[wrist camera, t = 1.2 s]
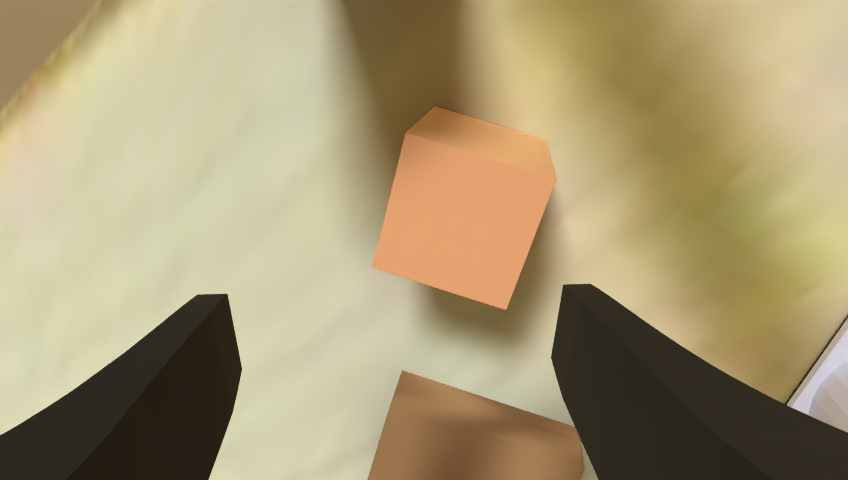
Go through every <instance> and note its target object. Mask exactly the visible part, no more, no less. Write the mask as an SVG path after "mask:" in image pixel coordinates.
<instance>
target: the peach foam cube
mask: <svg viewBox="0 0 848 480" xmlns="http://www.w3.org/2000/svg"><path fill="white" fill-rule="evenodd" d="M556 179H557V178H556V174H555V171H554V167H553V163H552V159H551V155H550V152H549V148H548V144H547V140H546V139H543V138H540V137H536V136H533V135H530V134H526V133H523V132H520V131H516V130H513V129H510V128H506V127H503V126H499V125H496V124H493V123H489V122H486V121H483V120H479V119H476V118H473V117H469V116H466V115H463V114H459V113H456V112H453V111H449V110H446V109H443V108H439V107H436V106H435V107H434V108H433V109H431V110H430V111H429V112H428V113H427V114H426V115H425V116H424V117H423V118H422V119H420V120H419V121H418V122H417V123H416V124H415V125H414V126H413V127H412V128H410V129H409V130H408V131H407V132H406V133H405V137H404V141H403V145H402V149H401V153H400V157H399V161H398V165H397V169H396V173H395V177H394V181H393V185H392V189H391V193H390V197H389V201H388V205H387V209H386V213H385V217H384V221H383V225H382V229H381V233H380V237H379V241H378V245H377V249H376V254H375V258H374V262H373V266H372V268H375V269H379V270H382V271H385V272H388V273H391V274H394V275H397V276H401V277H404V278H407V279H410V280H413V281H416V282H419V283H423V284H426V285H429V286H432V287H435V288H438V289H441V290H445V291H448V292H451V293H454V294H457V295H460V296H463V297H467V298H470V299H473V300H476V301H479V302H482V303H486V304H489V305H492V306H495V307H498V308H501V309H504V310H506V309H507V307H508V304H509V302H510V299H511V296H512V294H513V291H514V289H515V286H516V283H517V281H518V278H519V275H520V273H521V270H522V268H523V265H524V262H525V260H526V257H527V255H528V252H529V249H530V247H531V244H532V242H533V239H534V236H535V234H536V231H537V229H538V226H539V223H540V221H541V218H542V216H543V213H544V210H545V208H546V205H547V202H548V200H549V197H550V195H551V192H552V189H553V187H554V184H555V182H556Z"/></svg>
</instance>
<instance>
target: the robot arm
mask: <svg viewBox="0 0 848 480" xmlns="http://www.w3.org/2000/svg"><path fill="white" fill-rule="evenodd" d="M551 359H552V362H553V366H554V370H555V373H556V377H557V381H558V384H559V387H560V390H561V394H562V397H563V400H564V402H565V404H566V407H567V409H568V411H569V414H570V416H571V418H572V420H573V423H574V425H575V427H576V430H577V432H578V434H579V436H580V439H581V441H582V443H583V445H584V448H585V450H586V452H587V454H588V456H589V459H590V461H591V463H592V465H593V468H594V470H595V472H596V474H597V477H598V479H599V480H848V319H847V320H846V321H845V323H844V324H843V326H842V327H841V328H840V330H839V331H838V333H837V334H836V336H835V337H834V338H833V340H832V341H831V343H830V344H829V345H828V347H827V348H826V350H825V351H824V353H823V354H822V355H821V357H820V358H819V360H818V361H817V362H816V364H815V365H814V367H813V368H812V369H811V371H810V372H809V374H808V375H807V377H806V378H805V379H804V381H803V382H802V384H801V385H800V386H799V388H798V389H797V391H796V392H795V394H794V395H793V396H792V398H791V399H790V401H789V402H788V403H787V405H785V404H783V403H781V402H779V401H777V400H775V399H773V398H771V397H769V396H767V395H765V394H763V393H761V392H759V391H758V390H756V389H754V388H752V387H750V386H748V385H746V384H744V383H743V382H741V381H739V380H737V379H735V378H733V377H731V376H730V375H728V374H726V373H724V372H723V371H721V370H719V369H717V368H716V367H714V366H712V365H711V364H709V363H708V362H706V361H704V360H703V359H701V358H699V357H698V356H696V355H695V354H693V353H691V352H690V351H688V350H687V349H685V348H683V347H682V346H680V345H679V344H677V343H676V342H674V341H673V340H671V339H670V338H668V337H667V336H665V335H664V334H662V333H661V332H659V331H658V330H657V329H655V328H654V327H652V326H651V325H649V324H648V323H646V322H645V321H644V320H642V319H641V318H639V317H638V316H637V315H635V314H634V313H632V312H631V311H630V310H628V309H627V308H625V307H624V306H623V305H621V304H620V303H618V302H617V301H616V300H614V299H613V298H611V297H610V296H608V295H607V294H605V293H604V292H603V291H601V290H600V289H598V288H596V287H595V286H593V285H591V284H570V285H563V290H562V296H561V302H560V308H559V314H558V320H557V325H556V331H555V337H554V343H553V349H552V355H551ZM241 371H242V367H241V362H240V356H239V351H238V346H237V341H236V336H235V331H234V325H233V320H232V315H231V310H230V305H229V300H228V295H227V294H205V295H197V296H195V297H194V298H192V299H191V300H190V301H188V302H187V303H186V304H185V305H183V306H182V307H181V308H180V309H178V310H177V311H176V312H175V313H173V314H172V315H171V316H170V317H168V318H167V319H166V320H165V321H164V322H162V323H161V324H160V325H159V326H157V327H156V328H155V329H154V330H152V331H151V332H150V333H149V334H147V335H146V336H145V337H144V338H142V339H141V340H140V341H139V342H137V343H136V344H135V345H134V346H132V347H131V348H130V349H129V350H127V351H126V352H125V353H123V354H122V355H121V356H119V357H118V358H117V359H115V360H114V361H113V362H111V363H110V364H108V365H107V366H106V367H104V368H103V369H102V370H100V371H99V372H98V373H96V374H95V375H93V376H92V377H91V378H89V379H88V380H87V381H85V382H84V383H82V384H81V385H80V386H78V387H77V388H75V389H74V390H73V391H71V392H70V393H68V394H67V395H65V396H64V397H62V398H61V399H59V400H58V401H56V402H55V403H53V404H51V405H50V406H48V407H47V408H45V409H44V410H42V411H40V412H39V413H37V414H35V415H34V416H32V417H31V418H29V419H27V420H26V421H24V422H23V423H21V424H19V425H18V426H16V427H14V428H13V429H11V430H9V431H7V432H6V433H4V434H2V435H0V480H208V479H209V477H210V474H211V471H212V468H213V466H214V463H215V460H216V457H217V455H218V452H219V449H220V447H221V444H222V441H223V438H224V435H225V433H226V430H227V427H228V424H229V421H230V418H231V416H232V413H233V408H234V404H235V400H236V395H237V391H238V386H239V381H240V376H241Z"/></svg>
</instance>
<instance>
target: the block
mask: <svg viewBox="0 0 848 480" xmlns="http://www.w3.org/2000/svg"><path fill="white" fill-rule="evenodd" d="M583 470H584V465H583V459H582V452H581V446H580V439H579V434H578V432H577V430H576V427H573V426H570V425H567V424H564V423H561V422H558V421H555V420H551V419H548V418H545V417H542V416H539V415H536V414H533V413H530V412H527V411H524V410H521V409H518V408H515V407H512V406H509V405H506V404H503V403H500V402H497V401H494V400H491V399H488V398H485V397H482V396H479V395H475V394H472V393H469V392H466V391H463V390H460V389H457V388H454V387H451V386H448V385H445V384H442V383H439V382H436V381H433V380H430V379H427V378H424V377H421V376H418V375H415V374H412V373H409V372H406V371H403V370H402V373H401V375H400V378H399V381H398V384H397V387H396V390H395V393H394V396H393V399H392V402H391V405H390V408H389V411H388V414H387V418H386V421H385V424H384V428H383V431H382V434H381V437H380V441H379V444H378V447H377V450H376V454H375V457H374V460H373V464H372V467H371V470H370V473H369V477H368V480H578V479H579V478H580V476H581V474H582V472H583Z"/></svg>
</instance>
